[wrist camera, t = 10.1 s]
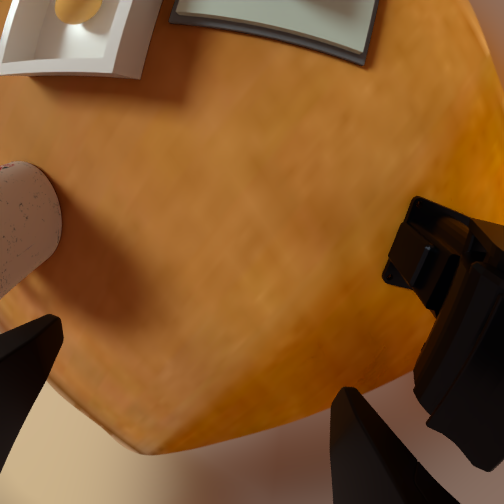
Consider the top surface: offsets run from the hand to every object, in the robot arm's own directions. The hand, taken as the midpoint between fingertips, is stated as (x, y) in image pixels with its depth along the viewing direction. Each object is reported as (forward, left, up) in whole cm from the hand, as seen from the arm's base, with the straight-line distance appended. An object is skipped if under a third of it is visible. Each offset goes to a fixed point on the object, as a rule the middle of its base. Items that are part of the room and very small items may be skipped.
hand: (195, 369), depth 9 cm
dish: (+13, -13, -13) cm, 22 cm away
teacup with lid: (+18, +4, -13) cm, 23 cm away
